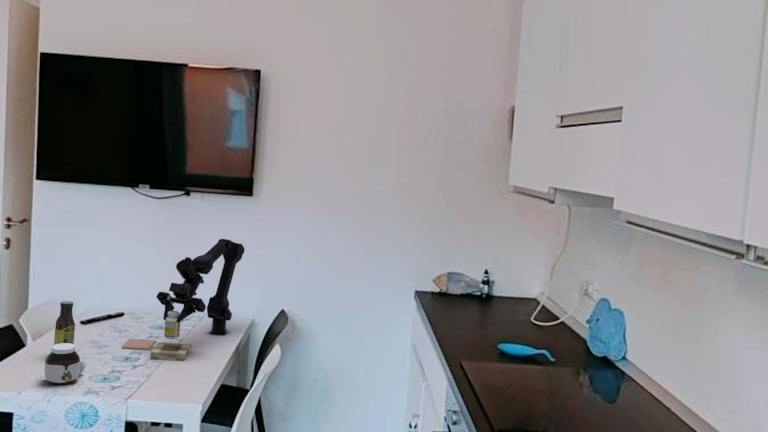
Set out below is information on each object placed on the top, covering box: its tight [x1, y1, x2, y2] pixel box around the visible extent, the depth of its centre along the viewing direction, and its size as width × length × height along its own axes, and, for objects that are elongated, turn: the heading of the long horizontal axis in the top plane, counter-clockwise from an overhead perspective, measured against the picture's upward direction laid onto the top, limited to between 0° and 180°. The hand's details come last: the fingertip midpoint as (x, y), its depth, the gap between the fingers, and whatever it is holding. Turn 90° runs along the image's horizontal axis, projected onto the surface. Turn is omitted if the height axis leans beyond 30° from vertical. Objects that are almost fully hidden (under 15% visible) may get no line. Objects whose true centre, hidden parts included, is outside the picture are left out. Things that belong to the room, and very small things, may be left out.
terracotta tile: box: [121, 338, 157, 351], centre depth 242 cm, size 10×10×1 cm
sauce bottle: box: [53, 300, 76, 345], centre depth 221 cm, size 7×6×20 cm
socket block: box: [149, 341, 192, 362], centre depth 235 cm, size 12×12×2 cm
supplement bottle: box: [164, 310, 181, 340], centre depth 234 cm, size 5×5×10 cm
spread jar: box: [44, 343, 87, 387], centre depth 202 cm, size 12×11×12 cm
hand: (170, 320), depth 233 cm, fingers closed on supplement bottle, 5 cm apart
